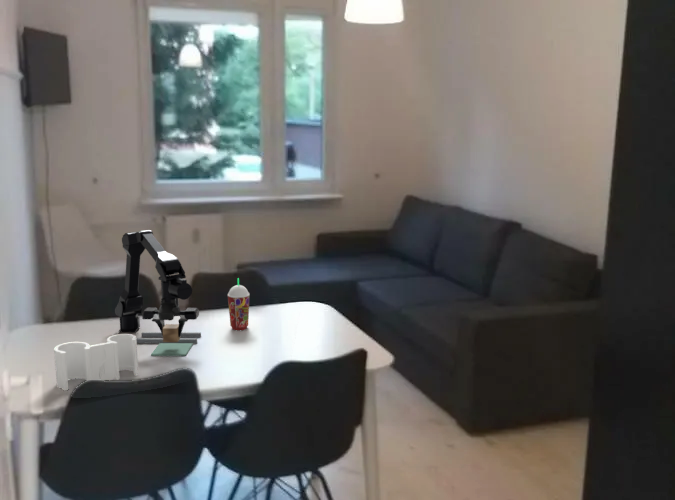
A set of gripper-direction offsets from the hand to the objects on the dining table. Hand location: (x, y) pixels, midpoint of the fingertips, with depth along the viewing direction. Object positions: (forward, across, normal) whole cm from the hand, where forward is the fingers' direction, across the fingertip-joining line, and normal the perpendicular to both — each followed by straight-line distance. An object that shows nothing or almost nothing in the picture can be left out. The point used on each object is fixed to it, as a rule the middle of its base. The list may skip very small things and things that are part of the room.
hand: (171, 337), depth 261 cm
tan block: (+1, 0, 0) cm, 1 cm away
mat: (+5, 0, 0) cm, 5 cm away
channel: (+5, -4, +12) cm, 13 cm away
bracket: (+5, -17, -28) cm, 33 cm away
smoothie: (+5, +20, +26) cm, 33 cm away
